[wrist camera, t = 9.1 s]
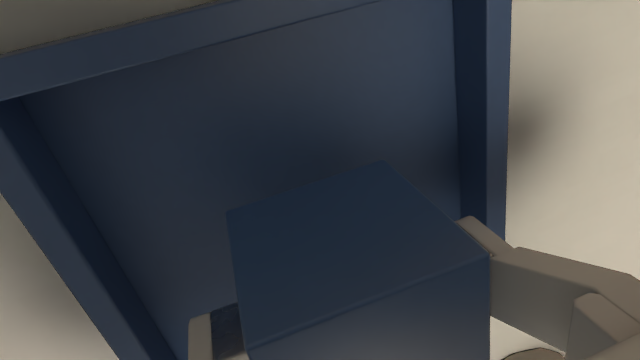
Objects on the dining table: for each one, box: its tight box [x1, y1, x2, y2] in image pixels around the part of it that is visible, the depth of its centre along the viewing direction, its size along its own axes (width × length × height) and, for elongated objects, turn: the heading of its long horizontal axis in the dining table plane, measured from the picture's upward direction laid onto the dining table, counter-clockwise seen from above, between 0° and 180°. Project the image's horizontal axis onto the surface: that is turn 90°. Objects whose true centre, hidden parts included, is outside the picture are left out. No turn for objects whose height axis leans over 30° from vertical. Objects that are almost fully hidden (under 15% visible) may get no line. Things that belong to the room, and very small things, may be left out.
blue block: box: [225, 160, 490, 360], centre depth 10 cm, size 4×4×4 cm
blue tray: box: [0, 0, 512, 360], centre depth 13 cm, size 14×14×2 cm
